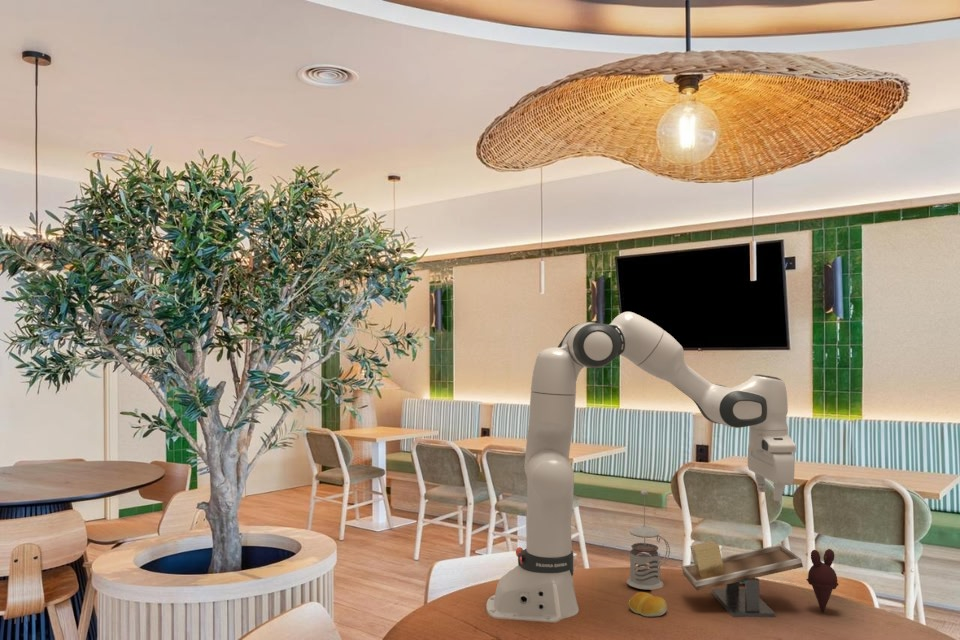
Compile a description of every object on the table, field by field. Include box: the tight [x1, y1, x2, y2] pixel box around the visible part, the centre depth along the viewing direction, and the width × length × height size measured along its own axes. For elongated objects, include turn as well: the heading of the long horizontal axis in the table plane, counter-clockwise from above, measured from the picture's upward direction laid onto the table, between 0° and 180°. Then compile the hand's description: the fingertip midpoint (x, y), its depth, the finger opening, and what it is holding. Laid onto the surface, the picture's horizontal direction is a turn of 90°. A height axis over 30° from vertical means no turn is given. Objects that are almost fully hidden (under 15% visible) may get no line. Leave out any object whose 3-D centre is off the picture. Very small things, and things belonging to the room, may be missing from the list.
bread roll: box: [628, 591, 668, 618], centre depth 169 cm, size 8×9×4 cm
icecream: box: [806, 548, 839, 613], centre depth 169 cm, size 7×7×15 cm
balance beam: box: [681, 544, 804, 592], centre depth 174 cm, size 26×12×3 cm, turn 89°
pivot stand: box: [711, 577, 777, 618], centre depth 174 cm, size 10×16×9 cm, turn 179°
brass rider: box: [689, 540, 725, 579], centre depth 174 cm, size 6×4×7 cm, turn 89°
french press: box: [626, 489, 671, 590], centre depth 190 cm, size 10×12×25 cm
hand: (769, 495), depth 174 cm, fingers open, 8 cm apart
